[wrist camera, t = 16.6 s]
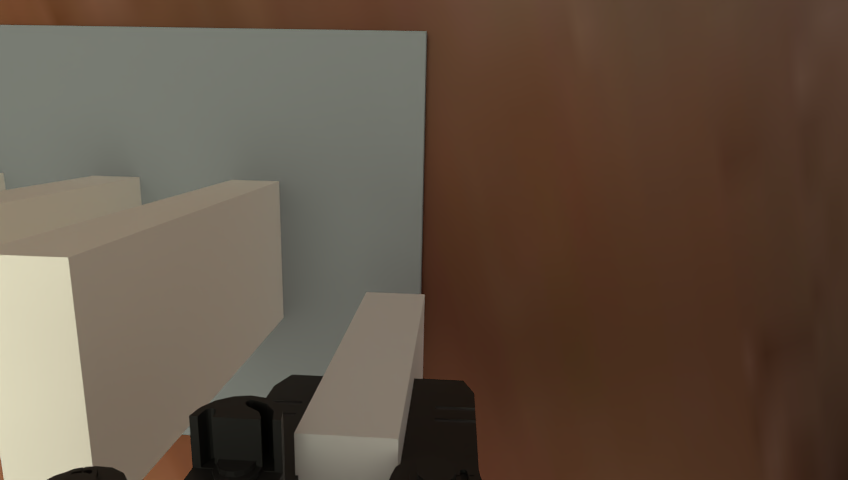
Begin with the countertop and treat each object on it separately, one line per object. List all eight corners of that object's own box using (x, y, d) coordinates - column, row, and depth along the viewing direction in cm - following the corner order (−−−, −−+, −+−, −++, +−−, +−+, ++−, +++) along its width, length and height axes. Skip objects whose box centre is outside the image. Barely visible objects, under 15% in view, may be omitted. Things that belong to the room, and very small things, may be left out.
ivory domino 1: (150, 311, 25) (-163, 510, 12) (107, 309, 25) (-247, 505, 13) (139, 177, 24) (-225, 246, 11) (93, 175, 24) (-319, 242, 11)
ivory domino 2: (283, 317, 25) (99, 528, 12) (238, 315, 25) (10, 522, 12) (279, 181, 24) (67, 257, 11) (232, 179, 24) (-32, 253, 11)
